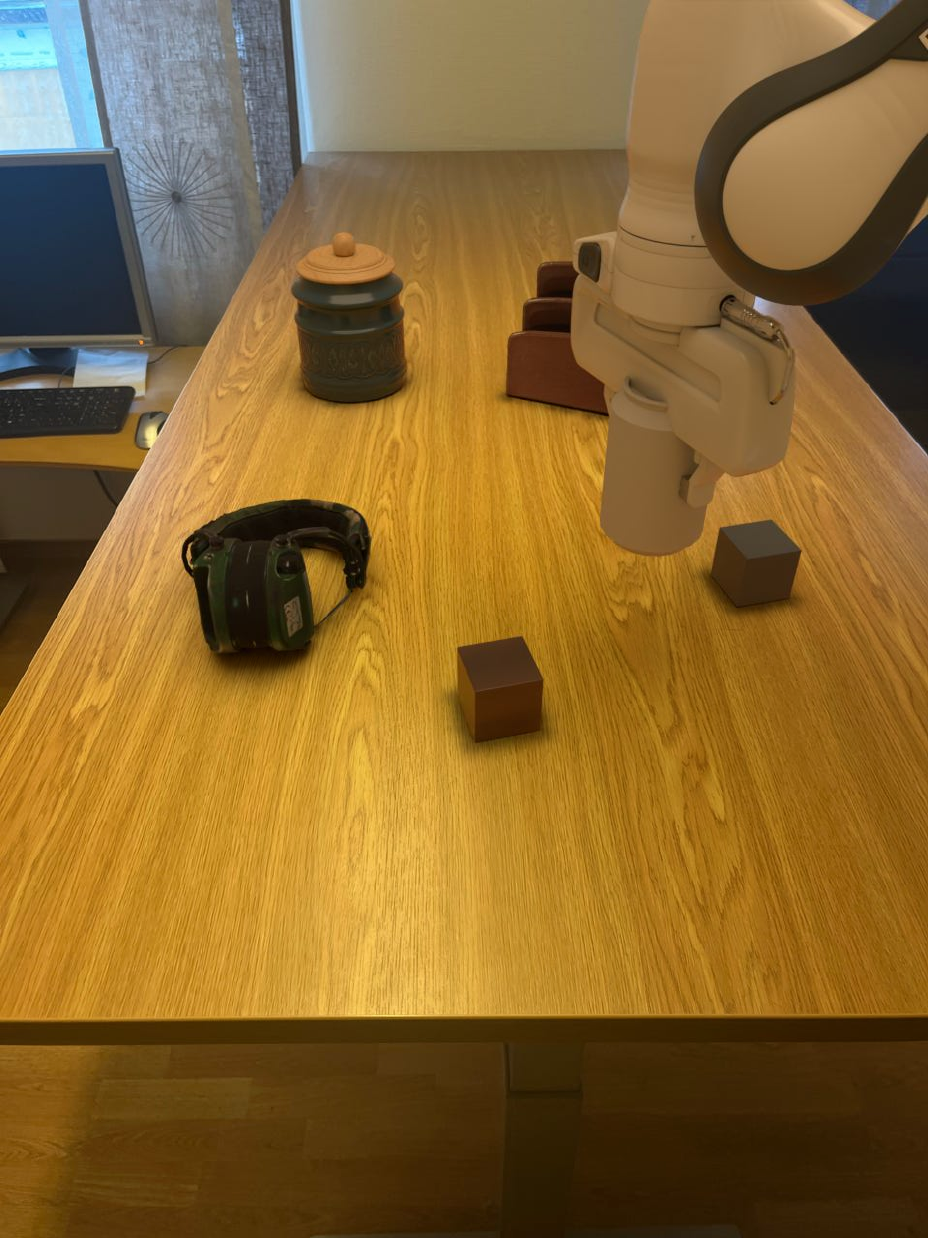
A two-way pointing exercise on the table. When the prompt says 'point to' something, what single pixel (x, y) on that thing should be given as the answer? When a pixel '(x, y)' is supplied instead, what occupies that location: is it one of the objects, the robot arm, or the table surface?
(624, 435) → the can
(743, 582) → the slate block
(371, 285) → the canister
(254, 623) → the headphones
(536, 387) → the letter holder
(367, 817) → the table surface
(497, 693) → the walnut block
